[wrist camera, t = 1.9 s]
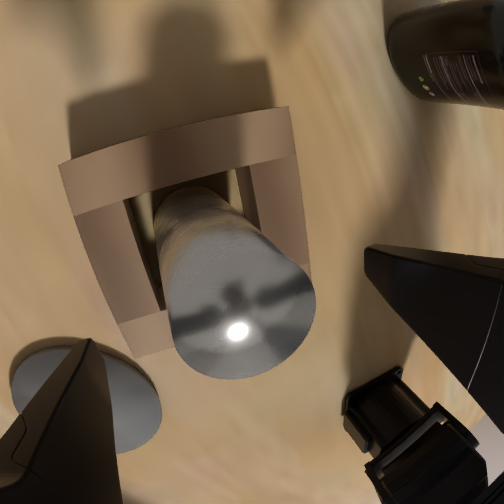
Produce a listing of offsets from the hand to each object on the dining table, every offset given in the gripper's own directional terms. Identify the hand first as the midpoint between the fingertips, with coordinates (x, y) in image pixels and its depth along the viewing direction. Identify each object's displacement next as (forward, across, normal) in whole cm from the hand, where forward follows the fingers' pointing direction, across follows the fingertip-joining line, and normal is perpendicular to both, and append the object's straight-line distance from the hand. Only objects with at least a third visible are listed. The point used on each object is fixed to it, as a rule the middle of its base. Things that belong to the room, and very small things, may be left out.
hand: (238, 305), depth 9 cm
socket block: (+8, 0, 0) cm, 8 cm away
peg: (+8, 0, 0) cm, 8 cm away
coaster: (+8, +11, +10) cm, 17 cm away
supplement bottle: (+8, -17, -8) cm, 20 cm away
